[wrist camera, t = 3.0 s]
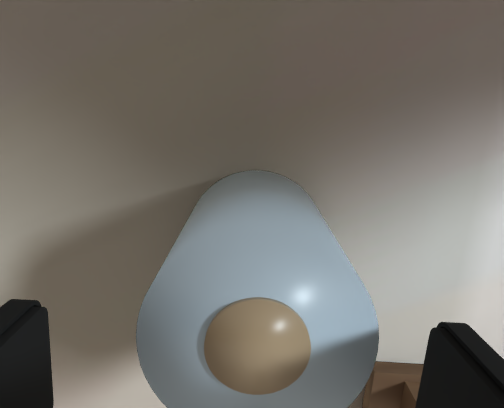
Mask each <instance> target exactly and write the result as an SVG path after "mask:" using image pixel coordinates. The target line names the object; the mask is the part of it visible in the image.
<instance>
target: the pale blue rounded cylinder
mask: <svg viewBox="0 0 504 408" xmlns="http://www.w3.org/2000/svg"><path fill="white" fill-rule="evenodd" d="M136 343H137V352H138V357H139V361H140V365H141V368H142V370H143V373H144V375H145V378H146V379H147V381H148V383H149V385H150V387H151V388H152V390H153V391H154V393H155V394H156V395H157V397H158V398H159V399H160V401H161V402H162V403H163V404H164V405H165V406H166V407H167V408H347V407H348V406H349V405H350V404H351V403H352V402H353V401H354V400H355V399H356V398H357V396H358V395H359V394H360V392H361V391H362V390H363V388H364V386H365V384H366V383H367V381H368V379H369V377H370V375H371V372H372V370H373V367H374V364H375V360H376V356H377V352H378V343H379V330H378V321H377V316H376V311H375V308H374V305H373V303H372V300H371V297H370V295H369V293H368V291H367V290H366V288H365V286H364V284H363V282H362V281H361V279H360V278H359V276H358V274H357V273H356V271H355V269H354V268H353V266H352V264H351V263H350V261H349V259H348V258H347V256H346V254H345V253H344V251H343V250H342V248H341V246H340V245H339V243H338V241H337V240H336V238H335V236H334V235H333V233H332V231H331V230H330V228H329V227H328V225H327V223H326V222H325V220H324V218H323V217H322V215H321V213H320V212H319V210H318V208H317V207H316V205H315V203H314V202H313V200H312V199H311V198H310V196H309V195H308V194H307V193H306V192H305V191H304V190H303V189H302V188H301V187H300V186H299V185H298V184H296V183H295V182H293V181H292V180H290V179H288V178H287V177H284V176H282V175H279V174H276V173H272V172H268V171H256V170H251V171H243V172H239V173H235V174H232V175H230V176H227V177H225V178H223V179H221V180H219V181H218V182H216V183H215V184H214V185H212V186H211V187H210V188H209V189H208V190H207V191H206V192H205V193H204V194H203V195H202V197H201V198H200V199H199V200H198V202H197V204H196V206H195V208H194V209H193V211H192V213H191V215H190V217H189V218H188V220H187V222H186V224H185V225H184V227H183V229H182V231H181V233H180V234H179V236H178V238H177V240H176V242H175V243H174V245H173V247H172V249H171V251H170V252H169V254H168V256H167V258H166V259H165V261H164V263H163V265H162V267H161V268H160V270H159V272H158V274H157V276H156V277H155V279H154V281H153V283H152V284H151V286H150V288H149V290H148V292H147V293H146V295H145V298H144V300H143V303H142V305H141V308H140V312H139V316H138V321H137V330H136Z"/></svg>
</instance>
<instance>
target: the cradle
mask: <svg viewBox="0 0 504 408" xmlns="http://www.w3.org/2000/svg"><path fill="white" fill-rule="evenodd" d="M423 365H424V364H408V363H392V362H375V364H374V367H373V370H372V372H371V375H370V377H369V379H368V381H367V383H366V386H365V392H364V398H363V404H362V408H415V406H416V401H417V396H418V391H419V386H420V381H421V376H422V370H423Z"/></svg>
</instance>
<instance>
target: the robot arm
mask: <svg viewBox="0 0 504 408" xmlns="http://www.w3.org/2000/svg"><path fill="white" fill-rule="evenodd" d="M0 408H53V386H52V370H51V355H50V339H49V324H48V312H47V309H46V308H45V307H41V304H40V302H39V301H37V300H19V299H11V300H9V301H8V302H7V303H5V304H4V305H3V306H2V307H0ZM415 408H504V359H503V358H502V357H501V356H499V355H498V354H497V353H496V352H495V351H494V350H493V349H492V348H491V347H490V346H489V345H488V344H487V343H486V342H485V341H484V340H483V339H482V338H481V337H480V336H479V335H478V334H477V333H476V332H475V331H474V330H473V329H472V328H471V327H470V326H469V325H467V324H465V323H450V322H441V323H439V324H438V326H437V328H432V330H431V331H430V335H429V340H428V345H427V350H426V355H425V360H424V365H423V370H422V376H421V381H420V386H419V391H418V396H417V401H416V406H415Z"/></svg>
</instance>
